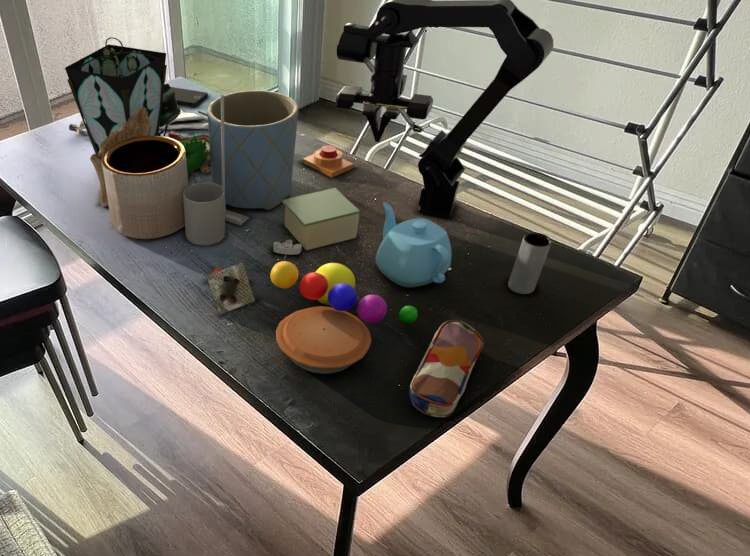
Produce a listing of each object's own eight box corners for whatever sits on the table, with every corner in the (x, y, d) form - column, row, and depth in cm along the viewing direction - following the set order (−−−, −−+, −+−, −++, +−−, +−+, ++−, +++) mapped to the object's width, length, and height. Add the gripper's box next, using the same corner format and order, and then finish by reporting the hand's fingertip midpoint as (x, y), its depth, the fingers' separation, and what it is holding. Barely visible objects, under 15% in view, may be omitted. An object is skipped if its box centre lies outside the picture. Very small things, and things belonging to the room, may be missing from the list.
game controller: (299, 243, 139) (299, 232, 137) (309, 276, 131) (310, 265, 129) (271, 245, 139) (271, 234, 138) (279, 278, 131) (280, 267, 129)
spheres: (285, 282, 130) (260, 292, 115) (299, 245, 128) (275, 250, 113) (411, 332, 122) (401, 349, 108) (428, 293, 120) (421, 305, 105)
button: (339, 155, 161) (340, 148, 160) (328, 160, 159) (329, 153, 158) (328, 150, 163) (329, 143, 162) (317, 155, 162) (318, 148, 161)
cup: (230, 228, 145) (230, 186, 139) (216, 248, 140) (215, 205, 133) (195, 221, 148) (192, 179, 142) (179, 240, 143) (176, 198, 136)
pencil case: (419, 307, 112) (410, 328, 115) (411, 395, 99) (402, 416, 103) (488, 322, 110) (477, 343, 114) (489, 414, 97) (476, 434, 101)
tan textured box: (206, 275, 122) (193, 278, 127) (219, 314, 123) (206, 316, 128) (242, 262, 125) (228, 265, 130) (255, 300, 126) (240, 302, 131)
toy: (207, 215, 155) (235, 163, 144) (177, 220, 150) (204, 167, 139) (170, 166, 161) (193, 112, 150) (139, 169, 156) (162, 114, 145)
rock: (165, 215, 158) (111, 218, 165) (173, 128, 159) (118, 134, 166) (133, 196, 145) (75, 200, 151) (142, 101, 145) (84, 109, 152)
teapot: (409, 190, 131) (479, 232, 119) (400, 237, 138) (465, 281, 126) (357, 209, 127) (424, 254, 115) (350, 256, 135) (413, 303, 123)
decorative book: (142, 158, 168) (143, 139, 164) (202, 145, 175) (203, 126, 171) (170, 182, 159) (171, 162, 156) (231, 167, 167) (233, 148, 163)
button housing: (353, 168, 161) (354, 156, 159) (331, 177, 159) (332, 165, 157) (323, 154, 168) (324, 142, 165) (302, 163, 165) (303, 151, 163)
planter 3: (536, 295, 122) (554, 247, 115) (509, 293, 123) (525, 245, 116) (532, 280, 125) (549, 232, 118) (506, 278, 126) (521, 231, 119)
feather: (143, 127, 157) (150, 124, 156) (189, 128, 182) (195, 125, 181) (146, 134, 157) (153, 131, 157) (191, 134, 182) (197, 131, 181)
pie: (388, 355, 113) (392, 332, 109) (320, 397, 107) (323, 375, 103) (322, 311, 123) (324, 289, 119) (257, 347, 116) (257, 325, 113)
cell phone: (194, 106, 194) (194, 103, 193) (140, 97, 200) (140, 94, 200) (208, 95, 199) (208, 92, 199) (155, 87, 206) (155, 84, 205)
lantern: (173, 155, 172) (164, 30, 152) (136, 184, 162) (121, 54, 142) (121, 143, 179) (105, 22, 159) (82, 170, 169) (60, 44, 149)
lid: (304, 226, 133) (304, 224, 133) (282, 202, 141) (282, 199, 140) (359, 213, 136) (360, 210, 135) (334, 190, 143) (335, 187, 143)
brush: (211, 83, 134) (251, 92, 129) (214, 206, 152) (249, 218, 148) (200, 90, 132) (241, 99, 127) (204, 214, 150) (239, 226, 146)
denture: (176, 146, 178) (150, 152, 174) (175, 129, 176) (149, 136, 172) (188, 150, 174) (162, 157, 170) (187, 134, 172) (161, 140, 168)
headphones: (187, 144, 171) (134, 148, 185) (199, 93, 171) (145, 101, 185) (151, 122, 161) (98, 129, 175) (163, 68, 161) (109, 78, 175)
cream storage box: (306, 250, 137) (308, 226, 133) (284, 225, 145) (285, 201, 141) (356, 237, 140) (359, 213, 136) (332, 213, 147) (334, 190, 143)
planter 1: (202, 204, 152) (198, 138, 142) (173, 247, 141) (166, 180, 130) (131, 194, 158) (122, 131, 147) (98, 236, 147) (85, 170, 136)
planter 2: (198, 207, 152) (194, 121, 139) (225, 169, 165) (224, 86, 151) (280, 220, 146) (284, 131, 133) (302, 178, 159) (308, 94, 145)
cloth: (127, 114, 192) (126, 106, 191) (165, 100, 198) (165, 92, 197) (184, 143, 177) (183, 134, 175) (224, 126, 182) (223, 118, 181)
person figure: (121, 141, 180) (120, 129, 178) (66, 142, 181) (64, 130, 179) (126, 125, 189) (125, 113, 187) (73, 125, 190) (71, 114, 188)
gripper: (446, 57, 135) (431, 132, 146) (354, 48, 143) (346, 120, 153) (433, 77, 128) (418, 154, 139) (338, 66, 136) (330, 140, 146)
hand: (377, 141), depth 145 cm, fingers closed
